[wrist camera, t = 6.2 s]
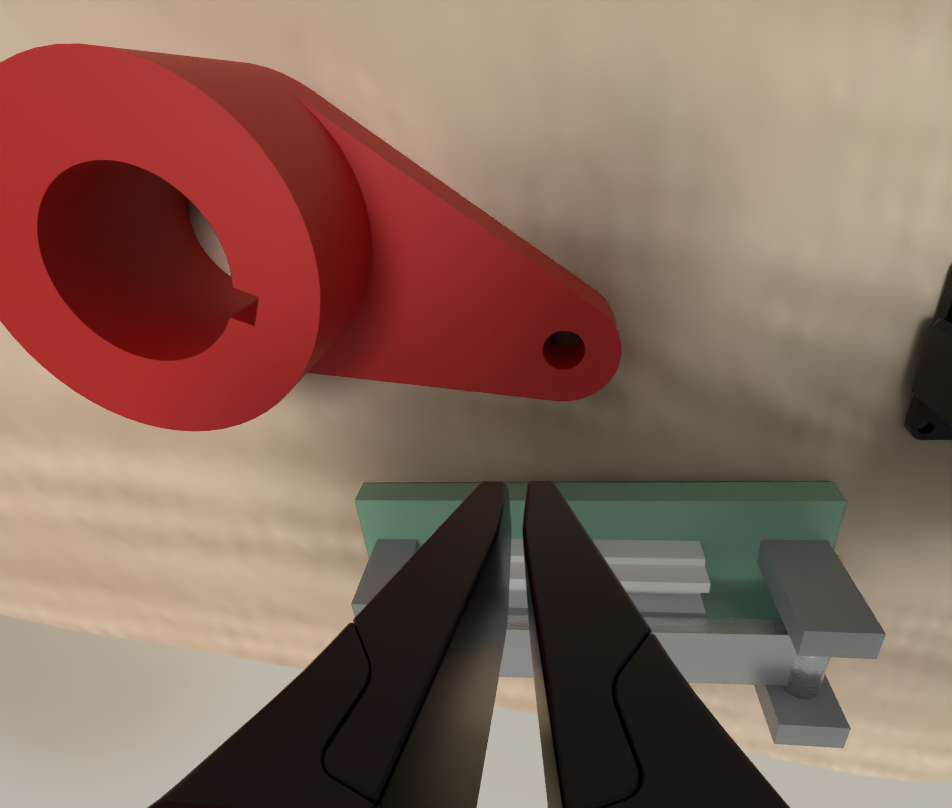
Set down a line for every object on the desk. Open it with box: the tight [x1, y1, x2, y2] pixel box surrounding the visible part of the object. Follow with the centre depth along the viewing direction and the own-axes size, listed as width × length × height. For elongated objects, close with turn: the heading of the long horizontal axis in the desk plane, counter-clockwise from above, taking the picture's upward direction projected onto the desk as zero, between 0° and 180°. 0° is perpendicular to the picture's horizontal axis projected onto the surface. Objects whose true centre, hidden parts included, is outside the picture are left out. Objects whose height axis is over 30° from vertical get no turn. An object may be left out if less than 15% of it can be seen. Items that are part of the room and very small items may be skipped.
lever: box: [0, 44, 621, 431], centre depth 17 cm, size 18×9×7 cm, turn 72°
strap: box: [499, 615, 830, 700], centre depth 22 cm, size 18×3×2 cm, turn 95°
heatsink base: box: [351, 482, 885, 748], centre depth 23 cm, size 19×10×6 cm, turn 95°
